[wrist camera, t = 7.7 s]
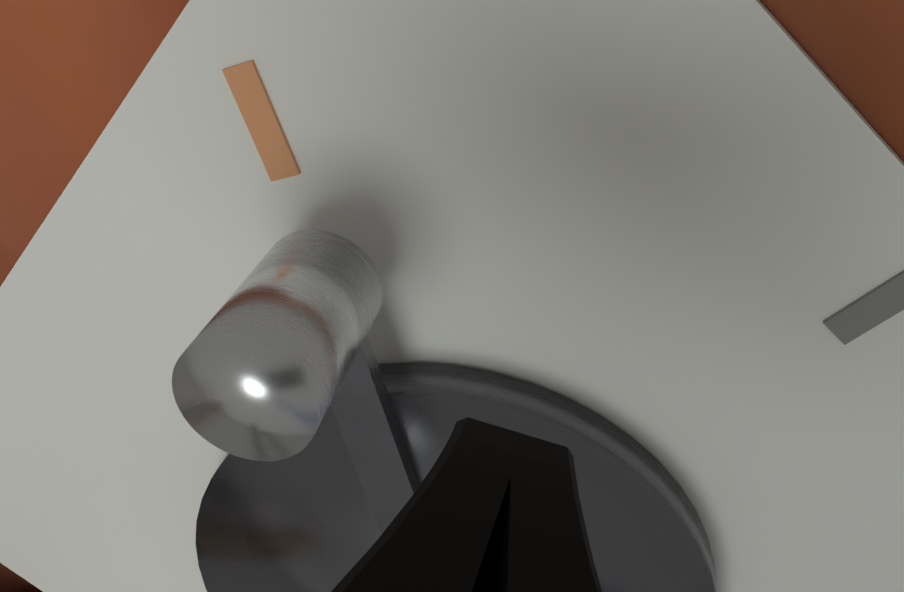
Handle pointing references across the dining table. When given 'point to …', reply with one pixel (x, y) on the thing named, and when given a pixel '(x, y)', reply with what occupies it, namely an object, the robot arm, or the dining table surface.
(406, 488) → the dial
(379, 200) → the dial plate
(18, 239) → the dining table surface
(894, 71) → the dining table surface
